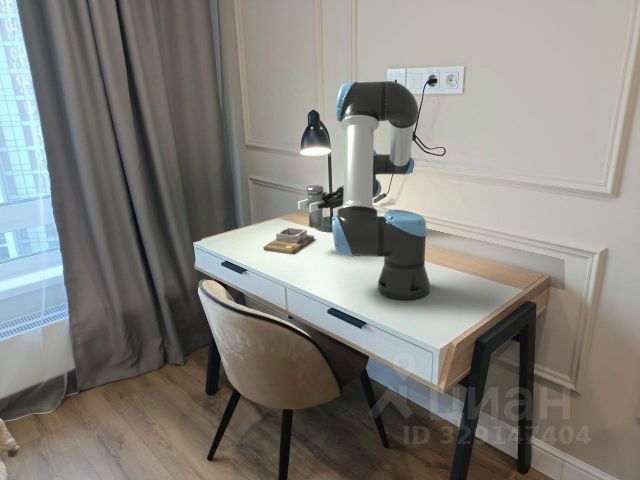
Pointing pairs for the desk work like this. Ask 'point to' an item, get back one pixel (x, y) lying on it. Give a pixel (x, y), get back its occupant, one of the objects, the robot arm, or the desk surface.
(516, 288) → the desk surface
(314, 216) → the grey capped canister
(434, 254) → the desk surface
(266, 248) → the base
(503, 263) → the desk surface
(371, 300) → the desk surface
